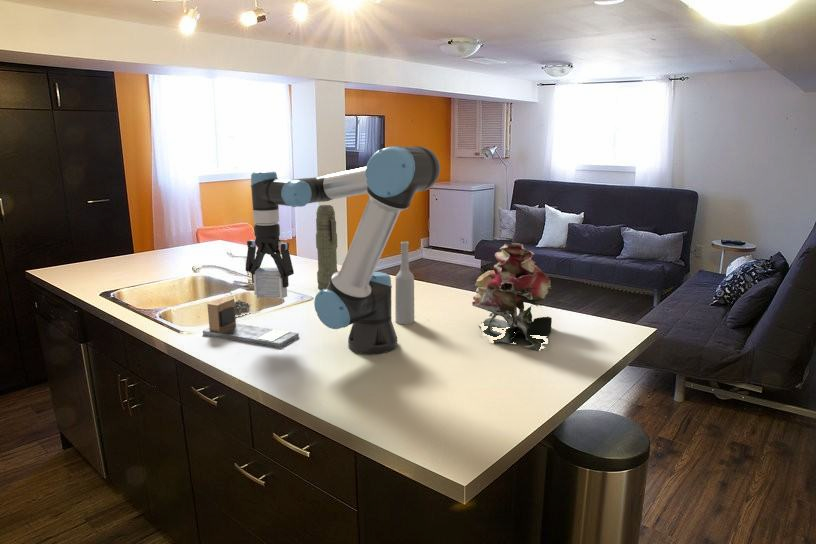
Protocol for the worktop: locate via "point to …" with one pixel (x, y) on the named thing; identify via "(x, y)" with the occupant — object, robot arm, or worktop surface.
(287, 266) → the robot arm
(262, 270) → the medicine box
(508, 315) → the rose bouquet
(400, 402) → the worktop surface
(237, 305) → the egg carton
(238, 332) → the rail
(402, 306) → the bottle
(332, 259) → the thermos
